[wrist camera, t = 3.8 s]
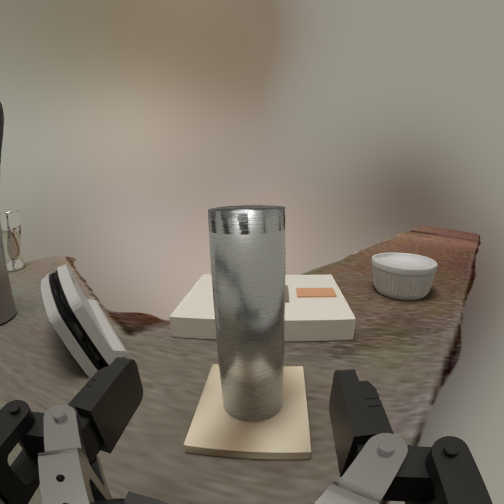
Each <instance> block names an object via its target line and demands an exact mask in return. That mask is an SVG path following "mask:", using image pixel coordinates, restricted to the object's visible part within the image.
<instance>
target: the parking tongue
mask: <svg viewBox="0 0 504 504" xmlns="http://www.w3.org/2000/svg"><path fill="white" fill-rule="evenodd" d="M184 448H185V452H188V453H195V454H203V455H211V456H221V457H232V458H246V459H275V460H290V459H310V455H311V444H310V432H309V421H308V411H307V401H306V391H305V381H304V372H303V366H298V367H284V376H283V403H282V408H281V409H280V411H279V412H278V413H277V414H276V415H275V416H273V417H271V418H269V419H267V420H264V421H259V422H245V421H240V420H237V419H235V418H233V417H231V416H230V415H229V414H228V413H227V412H226V411H225V409H224V407H223V399H222V390H221V380H220V370H219V365H217V364H213V365H212V368H211V371H210V373H209V376H208V379H207V382H206V384H205V387H204V390H203V393H202V396H201V398H200V401H199V404H198V407H197V409H196V412H195V415H194V418H193V420H192V423H191V426H190V429H189V431H188V434H187V437H186V440H185V443H184Z"/></svg>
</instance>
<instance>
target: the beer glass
mask: <svg viewBox="0 0 504 504" xmlns="http://www.w3.org/2000/svg"><path fill="white" fill-rule="evenodd" d="M0 221H1V230H2V238H3V246H4V253H5V259H6V265H7V270H8V272H14V271H18V270H21V269H23V268H24V267H25V265H24V262H23V259H22V255H21V225H20V218H19V211H18V210H16V211H11V212H5V213H0Z"/></svg>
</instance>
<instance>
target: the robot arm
mask: <svg viewBox="0 0 504 504" xmlns="http://www.w3.org/2000/svg"><path fill="white" fill-rule="evenodd" d="M3 126H4V115H3V108H2V104H1V102H0V159H1V147H2V138H3ZM0 162H1V160H0ZM15 314H16V307H15V303H14V299H13V295H12V290H11V285H10V280H9V276H8V270H7V265H6V259H5V253H4V246H3V238H2V230H1V221H0V324H2V323H5V322H6V321H8V320H10V319H11V318H12V317H13V316H14V315H15ZM142 397H143V388H142V384H141V380H140V376H139V372H138V368H137V364H136V362H135V360H133V359H126V358H120V357H117V358H115V360H114V361H113V362H112V363H111V364H110V365H109V366H108V367H107V366H106V367H104V368H103V369H101V370H99V371H97V372H96V373H95V374H94V375H93V377H92V378H91V380H89V381H88V382H87V383H86V386H84V387H83V388H82V389H81V390H80V391H79V393H78V394H77V395H76V396H75V397H74V398H73V400H72V401H71V402H70V403H69V404H68V405H56V406H53V407H51V408H49V409H48V410H47V411H46V412H45V413H38V412H31V410H30V408H29V406H28V404H27V403H26V402H24V401H22V400H14V401H11V402H9V403H7V404H6V405H5V406H4V407H3V408H2V409H1V410H0V504H28V503H29V501H30V499H31V498H32V496H33V494H34V493H35V491H36V489H37V488H38V486H39V484H40V488H41V496H42V503H43V504H166V503H164V502H162V501H160V500H158V499H154V498H150V497H146V496H142V495H139V494H135V493H132V492H128V494H127V496H126V498H125V499H113V498H112V496H111V494H110V492H109V489H108V486H107V483H106V480H105V477H104V473H103V470H102V466H101V463H100V459H99V457H98V455H97V454H98V453H99V451H100V450H102V451H105V452H108V453H111V452H112V450H113V448H114V447H115V445H116V443H117V441H118V440H119V438H120V436H121V435H122V433H123V431H124V430H125V428H126V426H127V424H128V423H129V421H130V419H131V418H132V416H133V414H134V413H135V411H136V409H137V408H138V406H139V404H140V403H141V400H142ZM329 411H330V418H331V424H332V430H333V435H334V441H335V447H336V453H337V459H338V466H339V472H340V477H341V478H340V480H339V481H338V482H337V483H335V482H334V483H333V484H331V485H330V486H329V487H328V489H327V490H326V491H325V492H324V493H323V494H322V495H321V497H320V498H319V499H318V500H317V501H316V502H315V503H314V504H379V503H380V501H381V500H388V501H405V504H492V501H491V499H490V496H489V494H488V491H487V489H486V486H485V484H484V482H483V479H482V477H481V474H480V472H479V470H478V468H477V465H476V463H475V461H474V459H473V457H472V454H471V452H470V451H469V448H468V446H467V444H466V443H465V442H464V441H463V440H461V439H459V438H457V437H452V436H447V437H442V438H440V439H438V440H437V441H436V442H435V443H434V444H433V446H432V447H416V446H410V445H407V444H406V442H405V441H404V440H403V439H402V438H401V437H399V436H397V435H395V434H394V433H393V431H392V428H391V426H390V423H389V421H388V418H387V415H386V413H385V410H384V408H383V407H382V403H381V400H380V399H379V395H378V393H377V391H376V388H375V387H374V386H372V385H371V384H370V383H369V382H368V381H359V380H358V377H357V374H356V372H355V370H354V369H350V370H335V372H334V377H333V384H332V390H331V396H330V403H329ZM17 443H19V444H20V446H21V447H22V448H23V450H22V451H21V452H20V454H19V455H18V456H17V458H16V459H15V461H14V462H13V463H12V465H11V466H9V465H8V461H7V458H8V455H9V453H10V452H11V451H12V449H13V448H14V447H15V446H16V444H17Z"/></svg>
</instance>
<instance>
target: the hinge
mask: <svg viewBox="0 0 504 504" xmlns="http://www.w3.org/2000/svg"><path fill="white" fill-rule="evenodd" d="M41 292H42V298H43V302H44V305H45V309H46V312H47V315H48V318H49V320H50V322H51V324H52V326H53V327H54V329H55V330H56V332H57V333H58V335H59V336H60V338H61V340H62V341H63V342H64V344H65V345H66V347H67V348H68V350H69V351H70V353H71V354H72V355H73V357H74V358H75V360H76V361H77V362H78V364H79V365H80V366H81V368H82V369H83V370H84V372H85V373H86V374H87V376H88V377H89V378H92V377H93V375H94V374H95V373H96V372H97V371H99V370H100V369H101V367H100V365H99V363H98V361H99V359H100V360H101V362H102V363H103V364H104V366H106V365H107V364H108V365H110V364H111V363H112V362H113V361H114V360H115V358H117V357H120V358H123V357H125V358H126V359H132V358H131V357H130V355H129V354H128V352H127V351H126V349H125V347H124V346H123V344H122V343H121V341H120V340H119V338H118V336H117V335H116V333H115V331H114V330H113V328H112V327H111V325H110V323H109V321H108V320H107V318H106V316H105V315H104V313H103V311H102V309H101V308H100V306H99V304H98V303H97V301H95V300H89V299H87V298H86V296H85V295H84V293H83V291H82V290H81V288H80V286H79V284H78V282H77V281H76V279H75V277H74V275H73V273H72V272H71V270H70V268H69V266H68V265H67V264H65V265H63V266H60V267H58V268H57V271H56V272H55V273H48V274H47V275H46V276H45V277H44V278H43V279H42V281H41ZM83 337H85V339H86V340H87V341H85V340H84V338H83Z"/></svg>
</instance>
